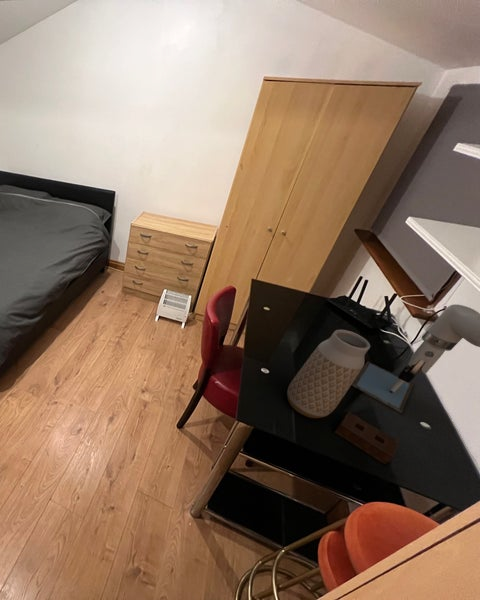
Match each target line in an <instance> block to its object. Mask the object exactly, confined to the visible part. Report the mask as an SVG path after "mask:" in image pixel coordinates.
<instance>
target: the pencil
mask: <svg viewBox="0 0 480 600" xmlns="http://www.w3.org/2000/svg"><path fill="white" fill-rule="evenodd" d="M411 368H412V367H411ZM403 382H404V381H403V380H401V379H399V380H398V381H397V382H396V383H395V384H394V386H393V387H392V388H391V389H390V391H389V392H390V393H393V392H395V391H396V390H397V389H398V388H399V387H400V386H401V384H402V383H403Z"/></svg>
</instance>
